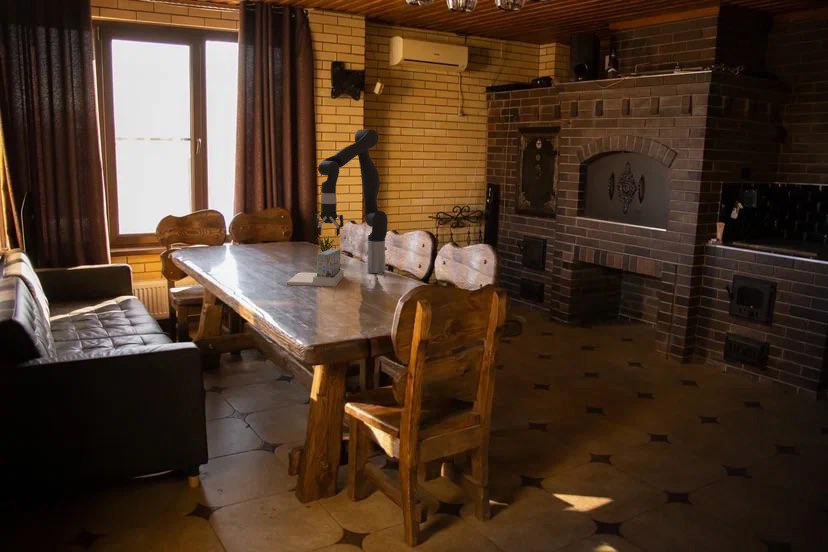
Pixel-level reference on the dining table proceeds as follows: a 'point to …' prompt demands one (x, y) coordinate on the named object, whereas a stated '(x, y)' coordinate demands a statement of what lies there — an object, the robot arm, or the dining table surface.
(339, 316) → the dining table surface
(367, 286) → the dining table surface
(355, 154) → the robot arm
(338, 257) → the snack box
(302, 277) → the board
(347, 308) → the dining table surface
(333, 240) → the house plant
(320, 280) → the bin
